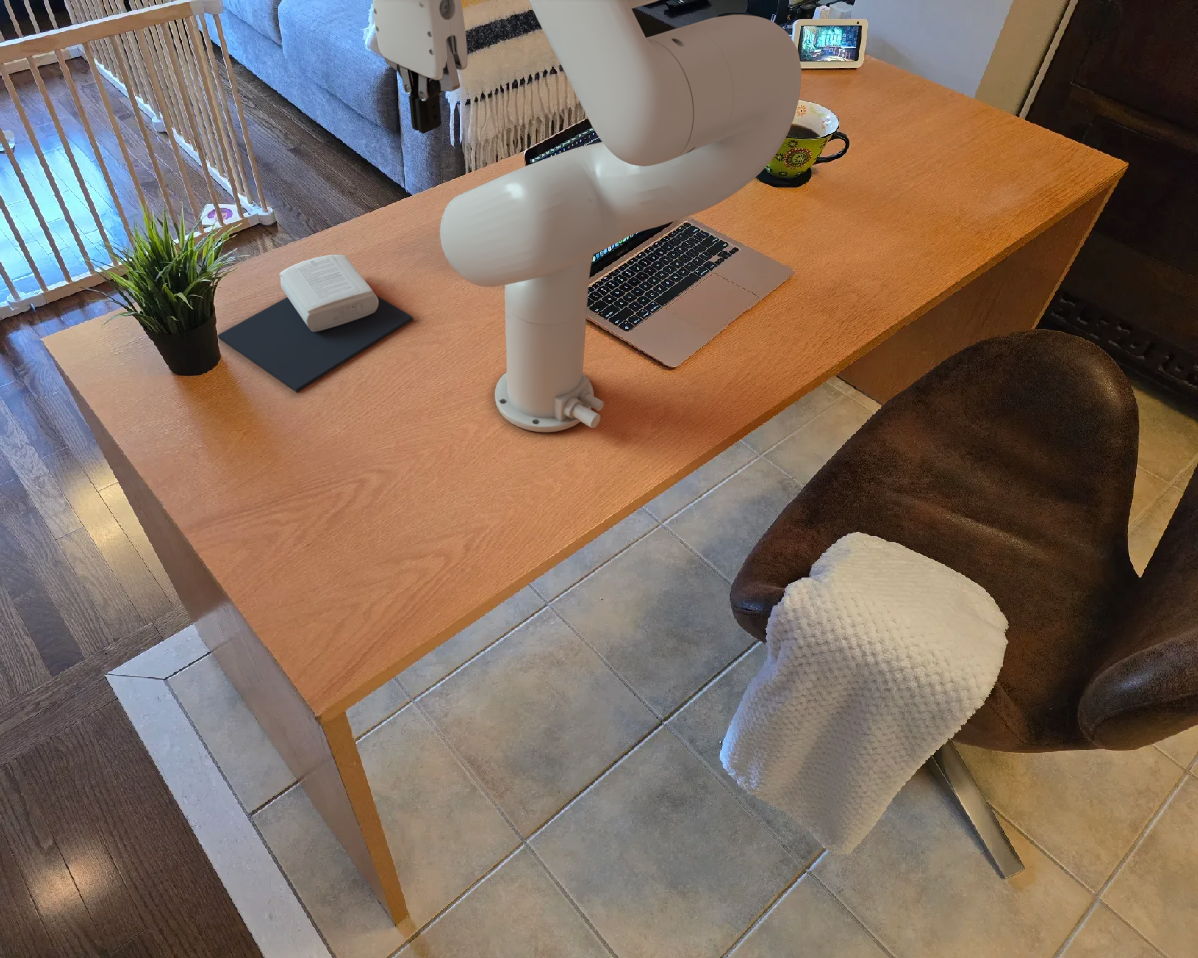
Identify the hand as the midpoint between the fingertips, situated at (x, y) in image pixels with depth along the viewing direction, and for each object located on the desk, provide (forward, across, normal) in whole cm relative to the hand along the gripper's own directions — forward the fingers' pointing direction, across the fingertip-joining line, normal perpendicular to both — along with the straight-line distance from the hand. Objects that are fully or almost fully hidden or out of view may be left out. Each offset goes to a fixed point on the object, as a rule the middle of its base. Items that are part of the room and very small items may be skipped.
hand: (426, 127), depth 103 cm
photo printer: (+24, +7, +11) cm, 28 cm away
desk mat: (+27, +10, +14) cm, 32 cm away
